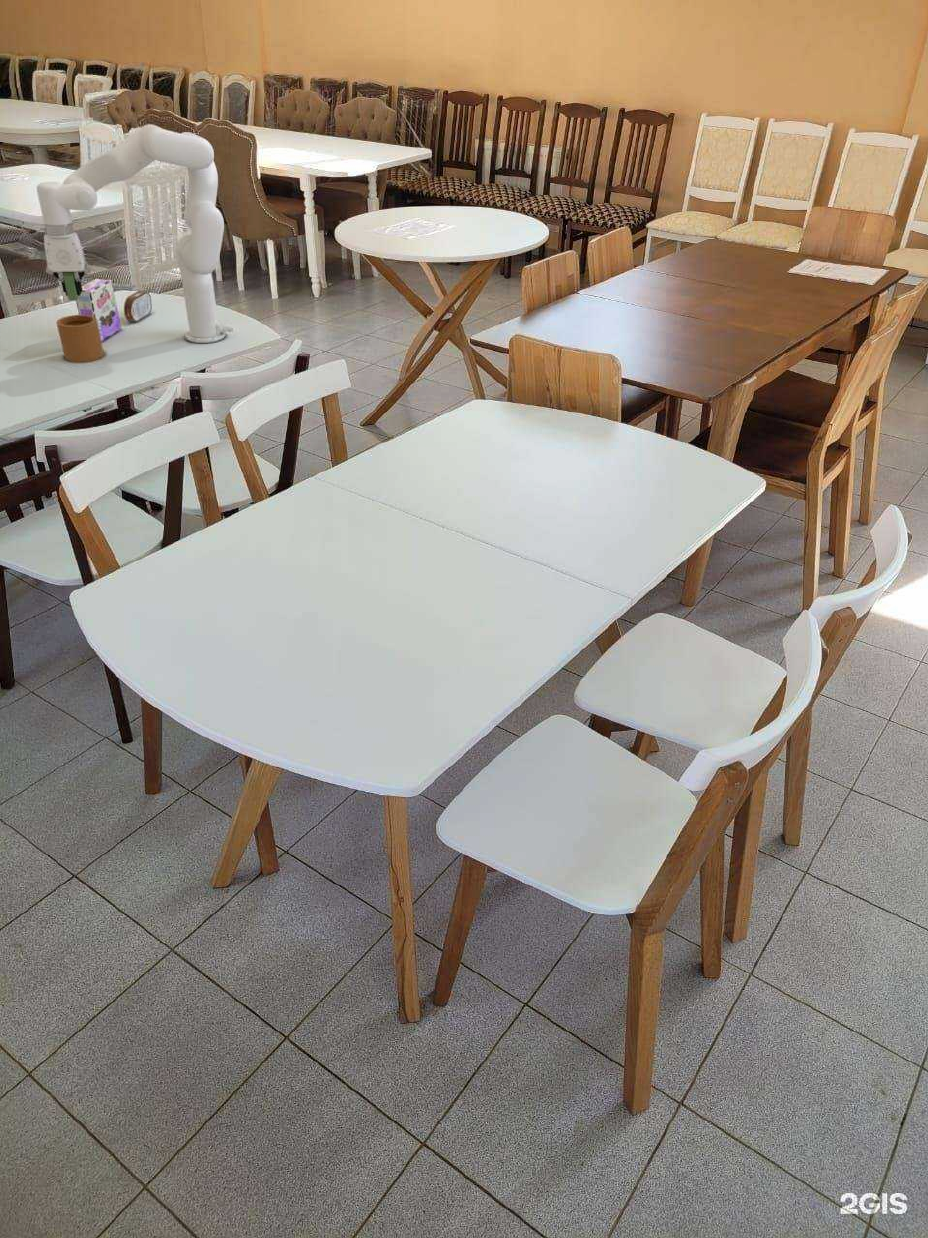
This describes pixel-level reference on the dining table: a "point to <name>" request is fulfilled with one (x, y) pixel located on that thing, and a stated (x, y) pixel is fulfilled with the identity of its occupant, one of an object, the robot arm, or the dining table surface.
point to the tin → (137, 306)
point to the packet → (70, 286)
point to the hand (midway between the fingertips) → (73, 293)
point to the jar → (80, 338)
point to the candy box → (100, 306)
